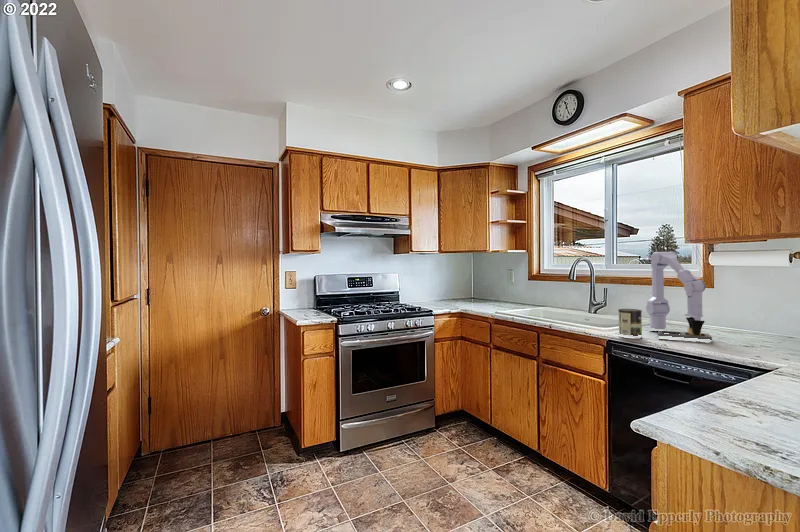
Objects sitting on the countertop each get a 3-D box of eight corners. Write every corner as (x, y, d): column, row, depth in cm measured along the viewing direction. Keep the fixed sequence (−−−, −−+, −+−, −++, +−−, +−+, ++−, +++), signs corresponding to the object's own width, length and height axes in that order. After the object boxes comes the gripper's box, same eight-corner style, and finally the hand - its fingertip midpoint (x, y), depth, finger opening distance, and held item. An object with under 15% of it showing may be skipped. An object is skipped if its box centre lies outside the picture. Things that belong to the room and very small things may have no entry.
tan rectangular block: (687, 339, 190) (687, 327, 190) (698, 340, 187) (698, 327, 187) (689, 341, 186) (689, 328, 186) (701, 341, 183) (700, 329, 183)
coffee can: (641, 336, 198) (641, 309, 198) (642, 340, 189) (641, 311, 189) (618, 334, 204) (618, 308, 204) (618, 338, 195) (617, 310, 195)
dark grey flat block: (658, 336, 198) (658, 330, 198) (708, 339, 187) (708, 333, 187) (659, 339, 190) (659, 333, 190) (712, 343, 179) (711, 337, 179)
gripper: (682, 303, 194) (682, 330, 195) (687, 306, 182) (687, 335, 182) (699, 304, 191) (699, 331, 191) (706, 307, 178) (706, 336, 178)
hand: (695, 333), depth 186 cm, fingers open, 7 cm apart
